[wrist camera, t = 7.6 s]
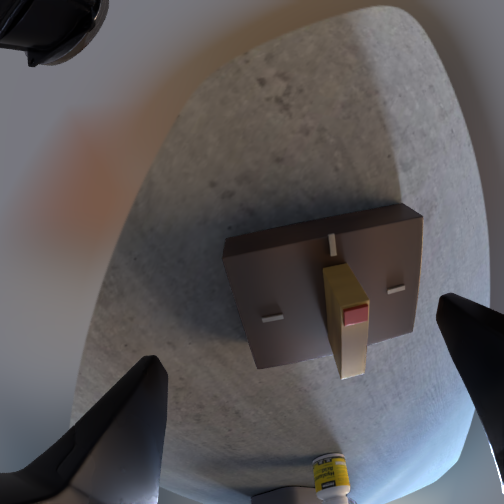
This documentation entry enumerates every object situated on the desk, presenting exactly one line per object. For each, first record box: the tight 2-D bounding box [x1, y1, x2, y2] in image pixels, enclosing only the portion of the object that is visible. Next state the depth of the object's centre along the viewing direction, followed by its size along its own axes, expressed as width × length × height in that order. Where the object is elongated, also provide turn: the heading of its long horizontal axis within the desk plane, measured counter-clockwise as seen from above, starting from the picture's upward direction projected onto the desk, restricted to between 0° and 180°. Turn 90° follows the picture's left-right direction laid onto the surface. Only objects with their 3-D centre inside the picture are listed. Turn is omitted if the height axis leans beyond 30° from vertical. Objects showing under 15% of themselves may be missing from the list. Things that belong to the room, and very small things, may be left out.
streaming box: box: [251, 487, 323, 504], centre depth 44 cm, size 14×14×5 cm
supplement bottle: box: [313, 453, 350, 504], centre depth 32 cm, size 5×5×10 cm
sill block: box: [222, 203, 423, 369], centre depth 19 cm, size 13×10×3 cm
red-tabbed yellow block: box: [323, 263, 369, 379], centre depth 16 cm, size 6×2×4 cm, turn 12°
